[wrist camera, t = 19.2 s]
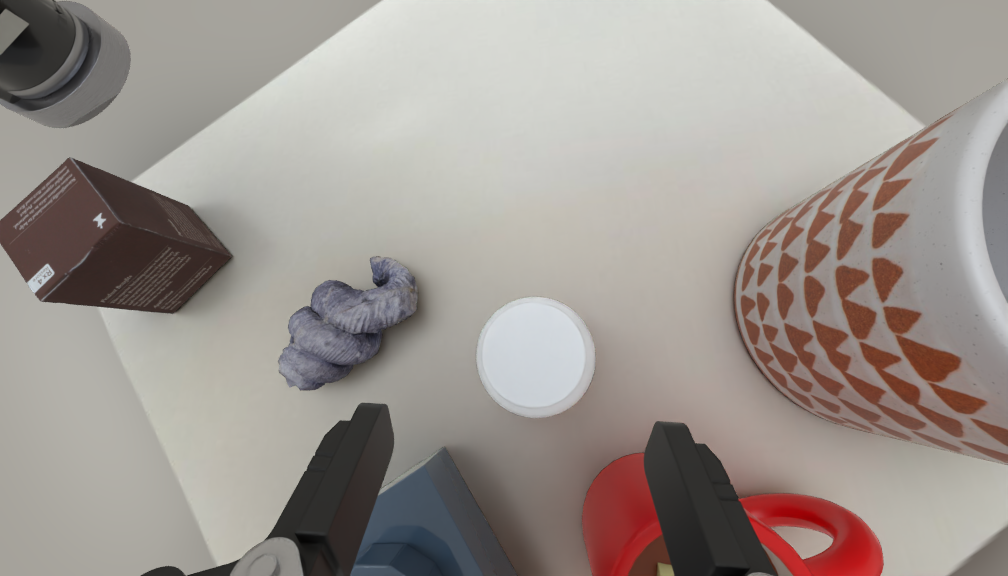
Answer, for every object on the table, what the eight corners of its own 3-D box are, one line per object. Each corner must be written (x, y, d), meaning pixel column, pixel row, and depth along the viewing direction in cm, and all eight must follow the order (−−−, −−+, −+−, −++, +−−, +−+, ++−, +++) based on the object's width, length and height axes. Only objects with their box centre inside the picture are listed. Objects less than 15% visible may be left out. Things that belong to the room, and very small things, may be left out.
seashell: (416, 270, 26) (324, 378, 26) (353, 224, 23) (246, 348, 22) (446, 301, 22) (338, 430, 22) (376, 250, 19) (245, 403, 18)
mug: (826, 555, 20) (1010, 685, 12) (614, 625, 20) (658, 794, 12) (757, 410, 21) (879, 441, 13) (561, 477, 22) (572, 545, 14)
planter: (748, 432, 21) (1047, 543, 9) (715, 207, 24) (908, 41, 11) (1017, 428, 20) (1836, 555, 7) (951, 191, 22) (1473, -18, 10)
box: (192, 204, 28) (70, 152, 21) (236, 257, 27) (122, 221, 19) (131, 261, 27) (-14, 228, 20) (173, 317, 26) (34, 303, 19)
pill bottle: (541, 419, 22) (540, 467, 13) (477, 359, 23) (432, 362, 14) (599, 352, 23) (639, 350, 13) (533, 296, 24) (526, 256, 14)
